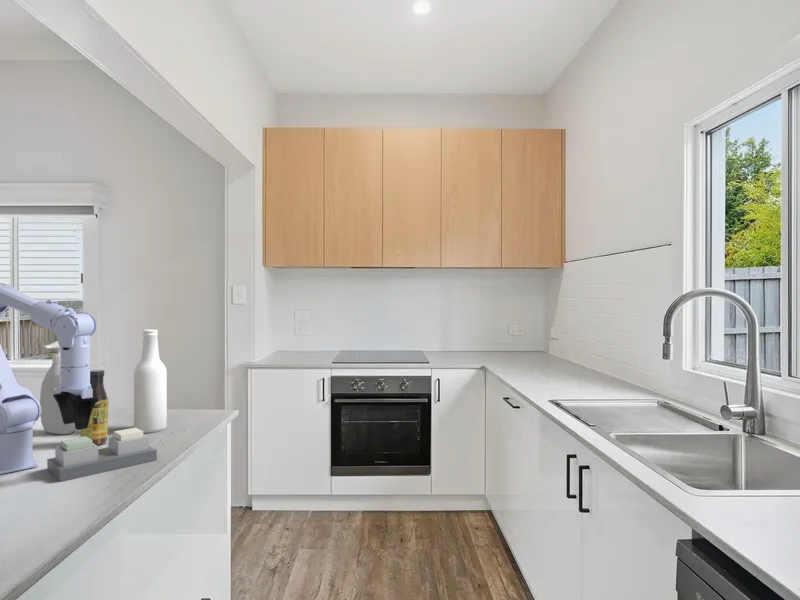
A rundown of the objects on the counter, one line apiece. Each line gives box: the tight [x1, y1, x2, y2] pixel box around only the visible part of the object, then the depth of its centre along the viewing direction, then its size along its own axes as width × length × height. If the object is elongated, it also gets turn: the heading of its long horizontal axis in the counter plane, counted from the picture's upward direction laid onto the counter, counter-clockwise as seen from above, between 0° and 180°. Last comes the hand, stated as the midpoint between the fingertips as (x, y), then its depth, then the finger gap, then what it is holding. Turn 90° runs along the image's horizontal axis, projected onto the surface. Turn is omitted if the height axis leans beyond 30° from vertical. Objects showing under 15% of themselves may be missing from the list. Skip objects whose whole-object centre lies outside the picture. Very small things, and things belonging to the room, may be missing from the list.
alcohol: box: [133, 328, 168, 434], centre depth 151 cm, size 9×9×30 cm
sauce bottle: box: [80, 369, 109, 446], centre depth 137 cm, size 7×6×20 cm
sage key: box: [60, 436, 93, 452], centre depth 116 cm, size 5×5×2 cm
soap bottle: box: [39, 340, 77, 435], centre depth 148 cm, size 14×8×27 cm, turn 70°
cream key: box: [113, 427, 144, 442], centre depth 124 cm, size 5×5×2 cm
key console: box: [46, 433, 158, 483], centre depth 120 cm, size 11×20×6 cm, turn 137°
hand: (75, 426), depth 115 cm, fingers open, 7 cm apart
